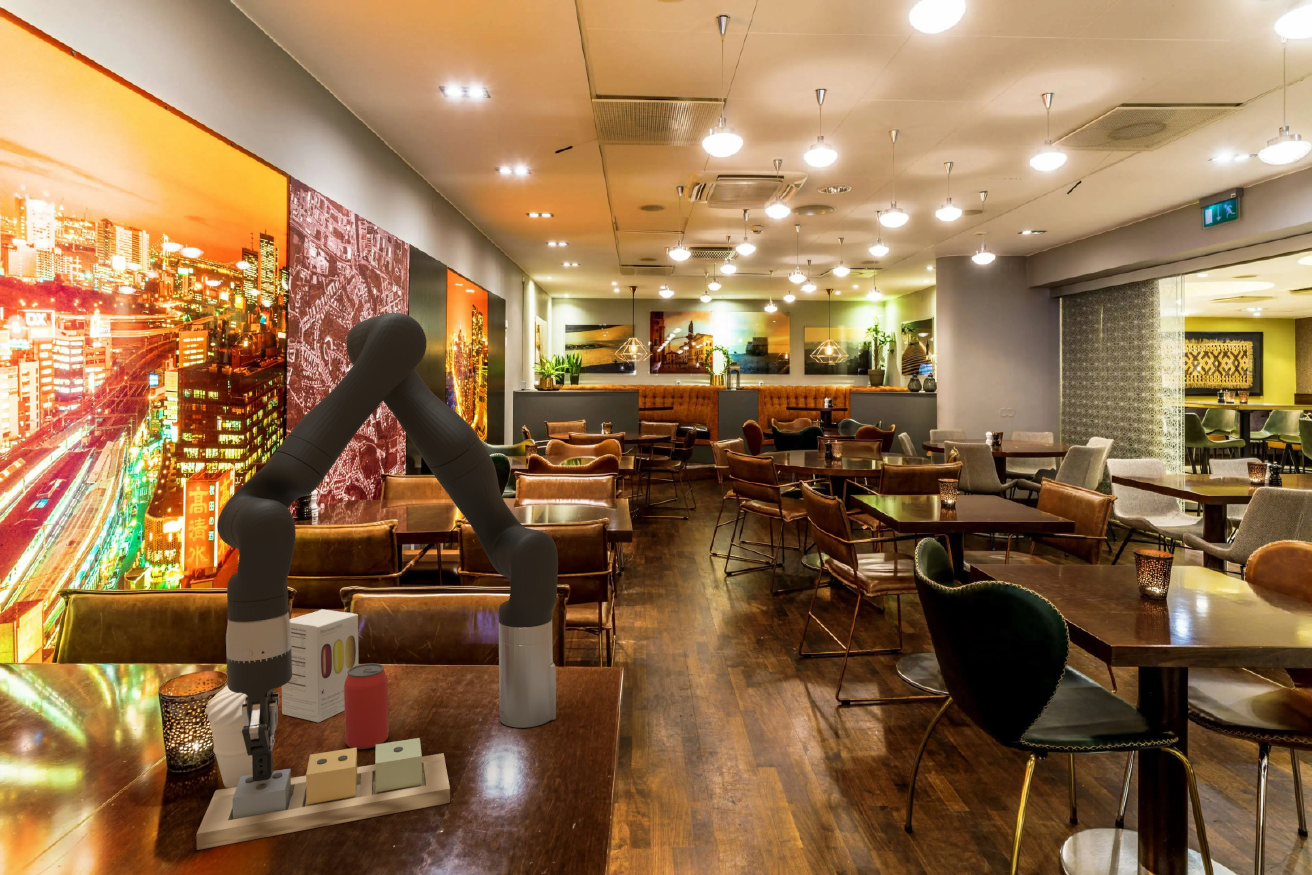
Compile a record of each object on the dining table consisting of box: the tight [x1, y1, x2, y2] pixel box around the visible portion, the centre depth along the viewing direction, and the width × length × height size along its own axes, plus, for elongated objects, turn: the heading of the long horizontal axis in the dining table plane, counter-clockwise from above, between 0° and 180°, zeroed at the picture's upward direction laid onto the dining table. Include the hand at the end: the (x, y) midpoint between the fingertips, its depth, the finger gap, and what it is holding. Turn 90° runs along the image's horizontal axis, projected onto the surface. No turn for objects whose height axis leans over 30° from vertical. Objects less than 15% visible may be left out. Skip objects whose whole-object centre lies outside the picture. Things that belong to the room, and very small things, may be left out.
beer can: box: [344, 662, 390, 750], centre depth 118 cm, size 7×7×12 cm
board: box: [196, 752, 451, 850], centre depth 100 cm, size 30×11×2 cm, turn 111°
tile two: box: [305, 747, 358, 804], centre depth 99 cm, size 6×6×4 cm
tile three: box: [233, 768, 292, 819], centre depth 96 cm, size 6×6×4 cm
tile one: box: [374, 737, 423, 792], centre depth 102 cm, size 6×6×4 cm
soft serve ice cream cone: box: [204, 685, 253, 789], centre depth 105 cm, size 8×8×16 cm
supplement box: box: [281, 608, 359, 723], centre depth 131 cm, size 10×9×17 cm
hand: (263, 777), depth 96 cm, fingers closed
